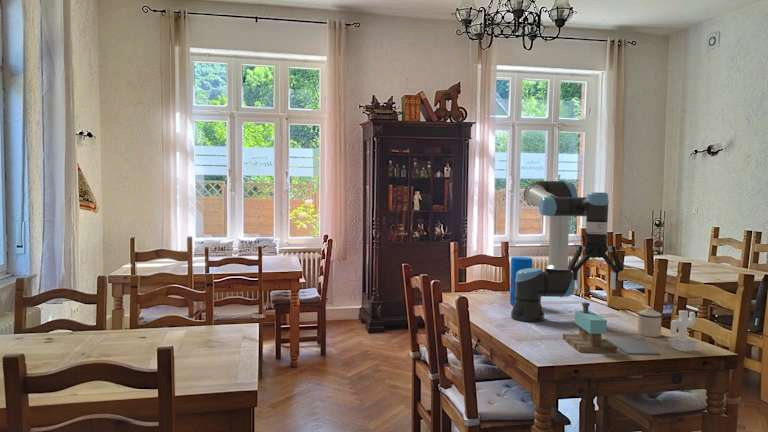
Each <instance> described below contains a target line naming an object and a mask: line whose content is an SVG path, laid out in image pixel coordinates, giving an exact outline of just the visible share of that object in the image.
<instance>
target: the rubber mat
mask: <svg viewBox="0 0 768 432" xmlns="http://www.w3.org/2000/svg"><path fill="white" fill-rule="evenodd" d="M604 339H605V340H607V341H608V342H610V343H611V344H613V345H614V346H616V347H617V350H620V351H621V352H623V353H625V354H626V355H643V356H644V355H646V356H649V355H653V356H654V355H655V356H660V354H661V353H660V352H658V351H657V350H655V349H654V348H652V347H650V346H648V345H646V344H645V343H643V342H641V341H640V340H638V339H636V338H634V337H633V338H632V337H626V338H625V337H605V338H604Z"/></svg>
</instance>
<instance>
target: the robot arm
mask: <svg viewBox="0 0 768 432" xmlns="http://www.w3.org/2000/svg"><path fill="white" fill-rule="evenodd" d="M523 198H524V201H525V202H526V203H527V204H528V205H530V206H533V207H537V208H539V209H538V210H539V212H540V215H542V216H545V217H549V229H548V230H549V235H548V236H549V238H548V239H549V240H548V264H547V265H546V266H545V269H544V270H545V271H543V269H541V268H539V267H532V268H527V269H521V270H519V271H517V273H516V280H515V281H516V290H515V303H514V306H512V309H511V312H510V318H511V319H512V320H515V321H521V322H528V323H529V322H530V323H537V322H542V321H544V320H545V313H544V309H543V306H542V297H550V298H551V297H554V298H557V297H559V298H566V297H567V298H568V297H571V296H572V295H573V293H574V292H575V290H580V279H581V278H580V275H581V274H580V273H581V272H580V271H579V270H580V269H581V268H582V267H583V265H584V264H585V263H586V262H587V261H588V260H590V259H591V258H592V259H596V258H597V259H603V261H604V262H605V263H606V264H607V265H608V267H609V269H611V271H610V285H609V286H610V287H609V289H611V290H614V291H615V290H616V285H617V284H616V282H618V279H619V273H620V272H623V271H624V266H623V264H622V263H621V260H620V258H619V256H618V254H617V249H616V246H614V245H610V246H608V245H607V244H608V234H607V233H608V223H609V221H608V219H609V203H610V202H609V193H607V192H599V191H598V192H594V191H593V192H591V191H590V192H588V193H587V194H586V196H581V197H578V191H577V188H576V185H575V184H574V183H573V182H571V181H568V180H567V181H565V180H537V181H534V182H531V183H529V184H528V185H527V186H526V187H525V188H524V191H523ZM570 217H586V222H585V224H586V225H585V232H586V234H585V246H583V245H579V244H578V245H577V246H576V251H575V252H574V254H573V257H572V258H571V260H570V262H569V239H570V238H569V237H570V235H569V233H570V232H569V231H570V229H569V226H570V223H569V222H570ZM583 252H585V253H584V254H583V256H582V253H583ZM607 252H609V253H610V255H611V258H612V259H613V261H614V263H613V261H612V260H611V259H610V257H609V256H608V254H607ZM581 256H582V257H581ZM580 257H581V259H580ZM579 259H580V260H579Z"/></svg>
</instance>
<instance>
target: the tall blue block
mask: <svg viewBox="0 0 768 432" xmlns="http://www.w3.org/2000/svg"><path fill="white" fill-rule="evenodd" d="M527 268H533V258H531V257H527V256H513V257H511V258H510V284H509V304H511V305H512V306H511V305H510V306H511V307H513V306H514V303H515V290H516V281H515V280H516V273H517V271H519V270H521V269H527Z"/></svg>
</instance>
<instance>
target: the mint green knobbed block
mask: <svg viewBox="0 0 768 432" xmlns="http://www.w3.org/2000/svg"><path fill="white" fill-rule="evenodd" d="M607 321H608V320H607V319H605V318H603V317H602V316H600V315H598V314H597V313H595V312H593V311H591V310H588V314H583V310H575V311H574V324H576V325H577V326H578V327H579V326H580V327H581V328H583V329H584V330H586V331H587V332H589V333H590V334H601V335H604V334H607V331H608V330H607V325H608V324H607V323H608V322H607Z"/></svg>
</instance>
